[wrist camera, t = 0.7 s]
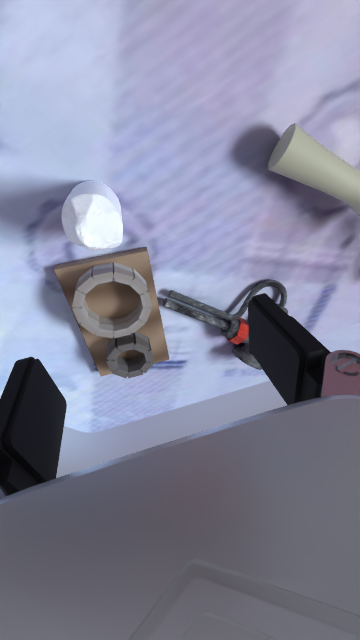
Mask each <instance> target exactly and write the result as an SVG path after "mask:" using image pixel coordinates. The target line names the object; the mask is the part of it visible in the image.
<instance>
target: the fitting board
mask: <svg viewBox="0 0 360 640" xmlns="http://www.w3.org/2000/svg"><path fill="white" fill-rule="evenodd" d="M54 271H55V273H56V276H57V278H58V280H59V282H60V285H61V287H62V289H63V291H64V294H65V296H66V298H67V301H68V303H69V305H70V307H71V310H72V312H73V314H74V316H75V319H76V321H77V323H78V326H79V328H80V330H81V332H82V335H83V337H84V339H85V341H86V344H87V346H88V348H89V351H90V353H91V355H92V357H93V360H94V362H95V364H96V366H97V369H98V371H99V373H100V376H104V375H108V374H115V375H118V376H121V377H124V378H126V377H127V376H128V378H131V377H135V376H139V375H143V373H146V372H147V371H148V369H149V368H150V367H151V366H152V365H153V364H154V363H157V362H161V361H165V360H169V355H168V350H167V345H166V340H165V335H164V330H163V325H162V320H161V315H160V310H159V305H158V300H157V295H156V290H155V285H154V280H153V275H152V271H151V266H150V261H149V256H148V251H147V248H146V247H143V248H138V249H133V250H128V251H123V252H118V253H113V254H108V255H103V256H98V257H93V258H88V259H83V260H78V261H73V262H68V263H63V264H58V265H56V266H55V268H54Z"/></svg>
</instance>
